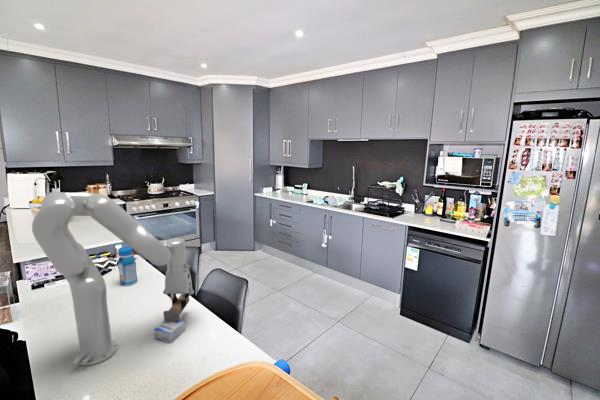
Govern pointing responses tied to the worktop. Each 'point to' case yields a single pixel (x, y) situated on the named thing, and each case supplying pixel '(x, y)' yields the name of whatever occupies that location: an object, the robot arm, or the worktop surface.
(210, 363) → the worktop surface
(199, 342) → the worktop surface
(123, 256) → the beverage bottle
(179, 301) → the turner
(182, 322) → the medicine box
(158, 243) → the robot arm
